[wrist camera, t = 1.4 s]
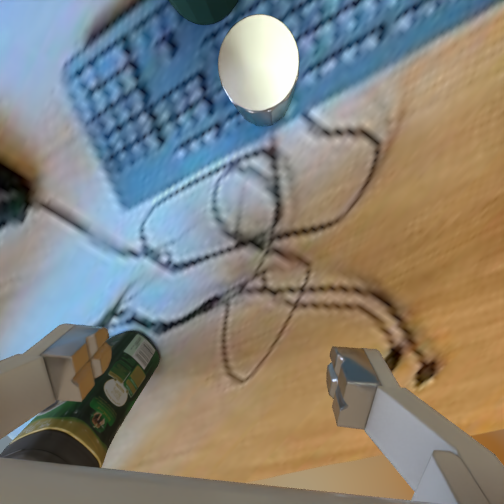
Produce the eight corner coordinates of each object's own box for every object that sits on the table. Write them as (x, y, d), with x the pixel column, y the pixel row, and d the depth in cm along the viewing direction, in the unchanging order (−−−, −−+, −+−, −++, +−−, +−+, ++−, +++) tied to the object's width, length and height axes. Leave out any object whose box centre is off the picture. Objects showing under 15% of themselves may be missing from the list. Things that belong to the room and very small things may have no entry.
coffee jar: (124, 380, 42) (17, 540, 24) (92, 345, 39) (-51, 492, 22) (170, 360, 39) (88, 521, 22) (139, 321, 37) (20, 465, 20)
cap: (291, 59, 25) (299, 8, 16) (291, 123, 27) (299, 107, 18) (234, 65, 25) (213, 19, 17) (238, 127, 27) (222, 114, 19)
